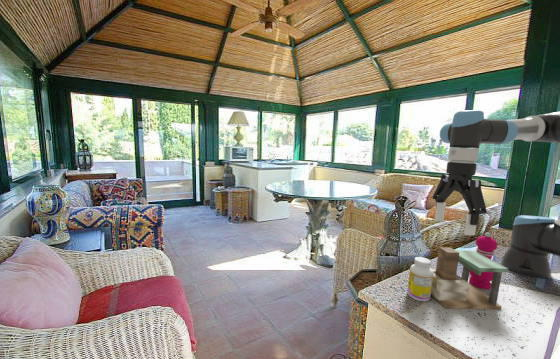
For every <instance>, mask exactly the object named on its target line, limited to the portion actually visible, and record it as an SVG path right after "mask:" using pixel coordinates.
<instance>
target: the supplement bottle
mask: <svg viewBox="0 0 560 359" xmlns="http://www.w3.org/2000/svg"><path fill="white" fill-rule="evenodd" d="M413 262H414V264H411V265H410V268H409V274H408V275H409V276H408V283H407V294H408V296H409V297H410V298H411V299H413V300H415V301H418V302H429V301H430V299H431V296H432V295H431V287H432V279H433V270H432V269H433V268H431V266H432V261H431V259H429V258H425V257H423V256H415V257H414V260H413Z"/></svg>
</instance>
